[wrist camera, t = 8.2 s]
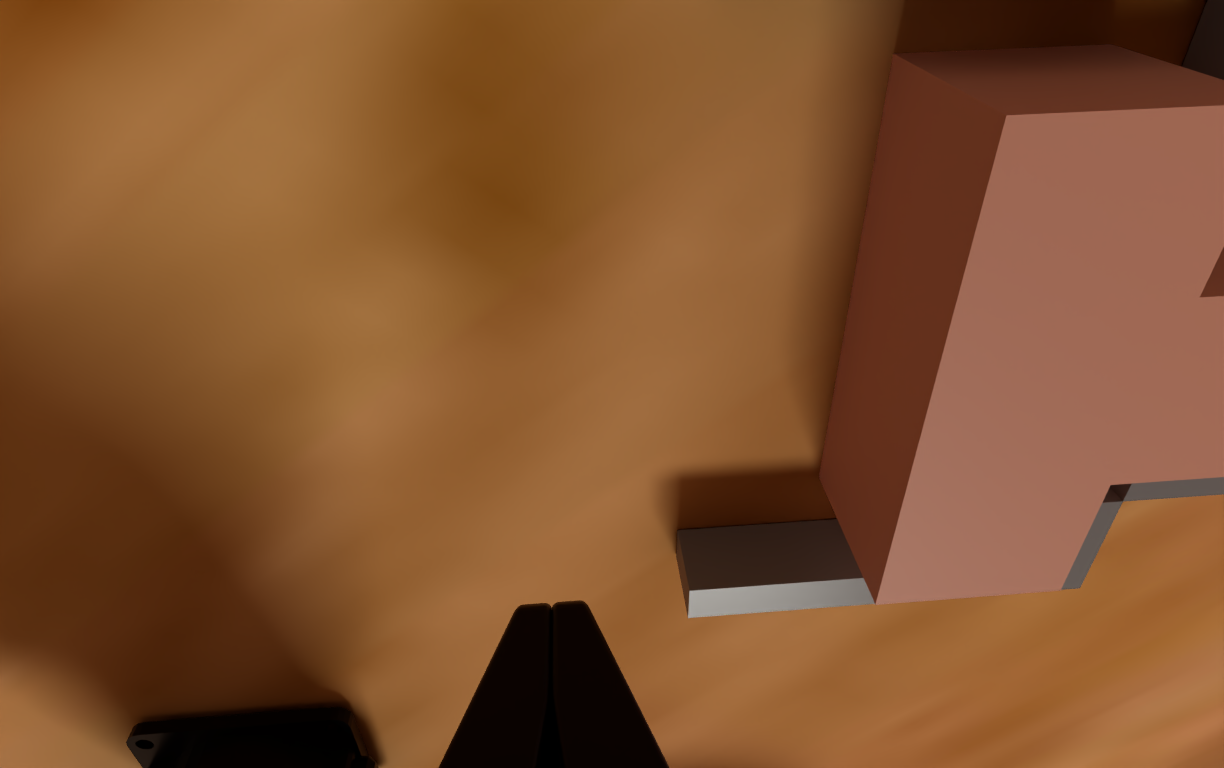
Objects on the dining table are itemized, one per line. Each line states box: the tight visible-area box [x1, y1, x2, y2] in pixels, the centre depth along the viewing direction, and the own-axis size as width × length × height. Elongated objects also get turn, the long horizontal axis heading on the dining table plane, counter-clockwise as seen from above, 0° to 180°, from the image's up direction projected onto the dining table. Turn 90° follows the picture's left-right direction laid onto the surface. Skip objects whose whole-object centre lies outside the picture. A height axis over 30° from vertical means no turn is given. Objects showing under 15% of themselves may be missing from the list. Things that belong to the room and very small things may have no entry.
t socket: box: [676, 0, 1224, 618], centre depth 16 cm, size 17×15×2 cm
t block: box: [819, 44, 1224, 605], centre depth 15 cm, size 11×10×4 cm
